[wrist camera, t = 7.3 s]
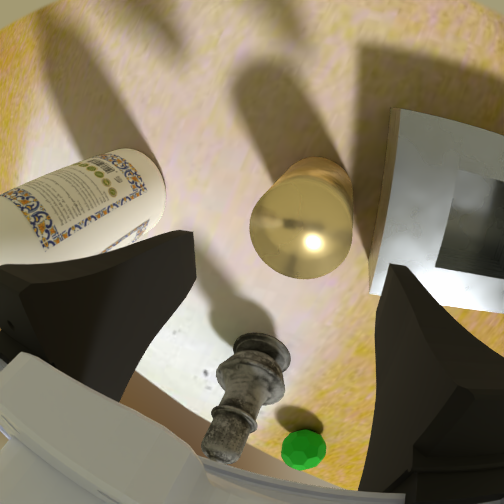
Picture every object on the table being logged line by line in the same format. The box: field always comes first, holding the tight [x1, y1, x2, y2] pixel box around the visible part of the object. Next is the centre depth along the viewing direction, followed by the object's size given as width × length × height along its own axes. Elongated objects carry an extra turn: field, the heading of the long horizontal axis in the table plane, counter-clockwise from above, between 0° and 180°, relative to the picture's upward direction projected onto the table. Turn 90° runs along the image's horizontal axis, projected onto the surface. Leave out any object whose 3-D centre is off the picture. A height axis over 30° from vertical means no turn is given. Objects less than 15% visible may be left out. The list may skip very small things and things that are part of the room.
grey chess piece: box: [201, 333, 291, 464], centre depth 22 cm, size 6×6×12 cm
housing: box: [368, 108, 504, 314], centre depth 14 cm, size 12×10×4 cm
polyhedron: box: [281, 429, 326, 471], centre depth 29 cm, size 5×5×5 cm
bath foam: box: [0, 148, 166, 266], centre depth 15 cm, size 7×7×20 cm
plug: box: [250, 157, 353, 279], centre depth 16 cm, size 5×5×6 cm
